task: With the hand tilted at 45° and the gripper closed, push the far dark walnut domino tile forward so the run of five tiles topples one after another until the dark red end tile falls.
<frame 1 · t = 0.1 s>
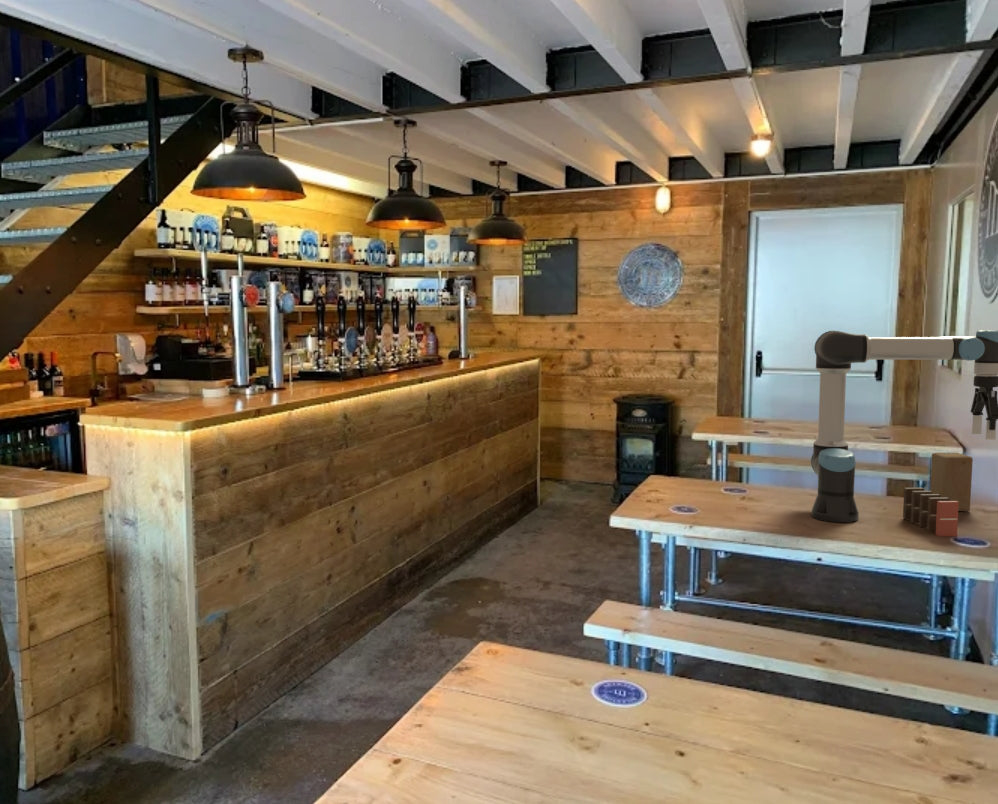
hand: (983, 436, 272), 28 cm above the table, tool pointing down, fingers open, 13 cm apart
tile 3: (928, 527, 261), on the table
wooden block: (949, 509, 285), on the table
end tile: (946, 535, 251), on the table
tile 4: (937, 531, 256), on the table
tile 1: (912, 519, 271), on the table
tile 2: (920, 523, 266), on the table
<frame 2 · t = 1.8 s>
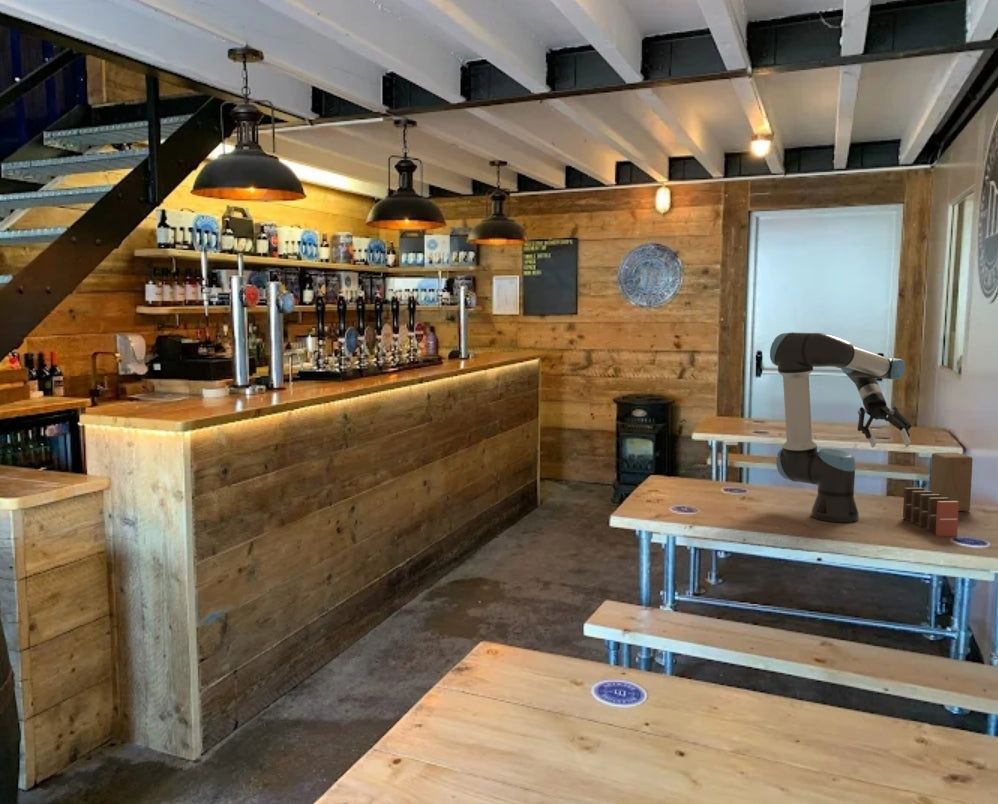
hand: (891, 444, 285), 23 cm above the table, tool tilted 45°, fingers open, 12 cm apart
nothing on the table moved.
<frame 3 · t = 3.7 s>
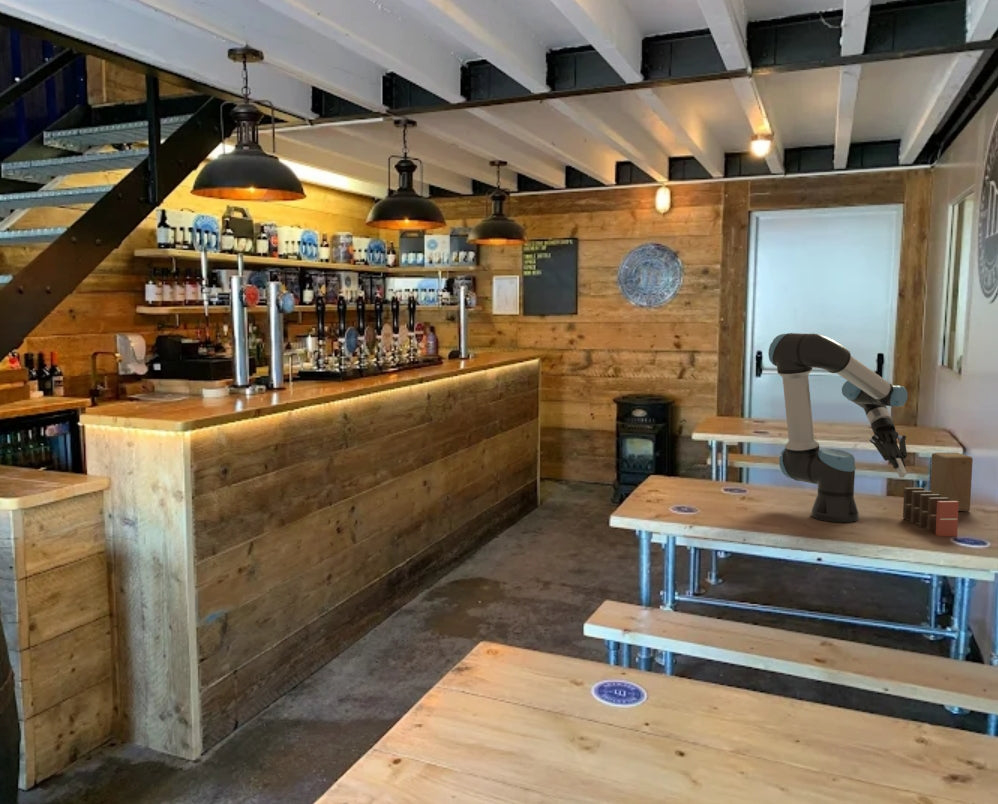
hand: (903, 475, 279), 13 cm above the table, tool tilted 45°, fingers closed
nothing on the table moved.
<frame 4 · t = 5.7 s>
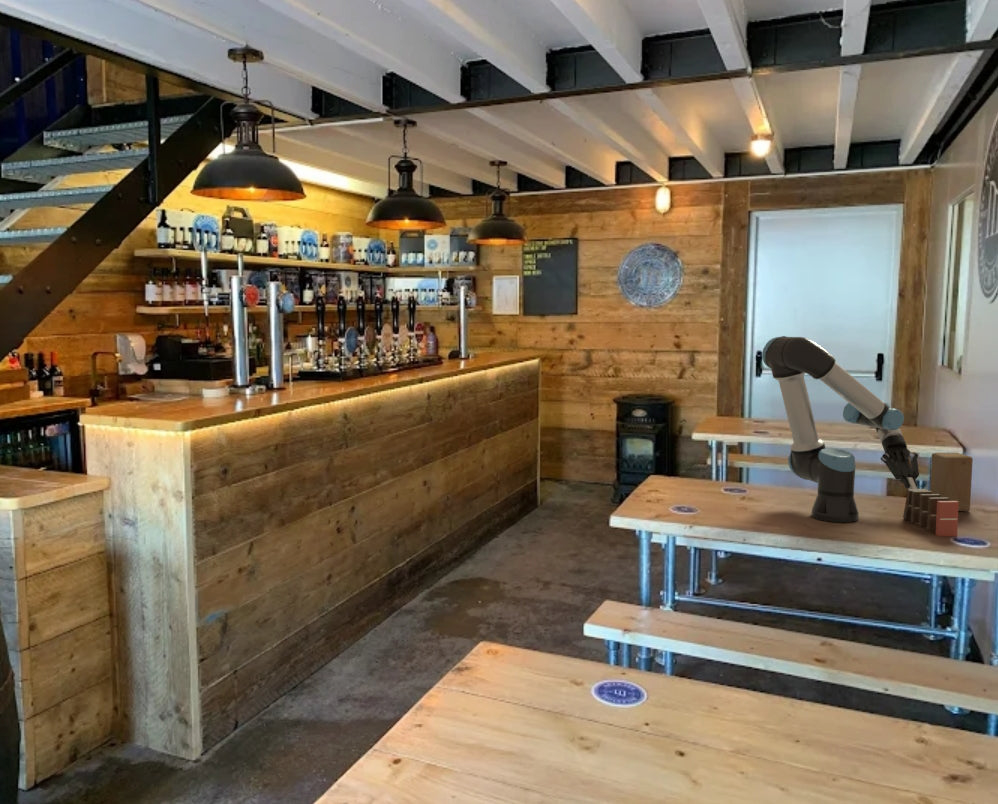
hand: (915, 495, 270), 8 cm above the table, tool tilted 45°, fingers closed
tile 1: (912, 519, 271), on the table, tilted 13°
everything else where it was.
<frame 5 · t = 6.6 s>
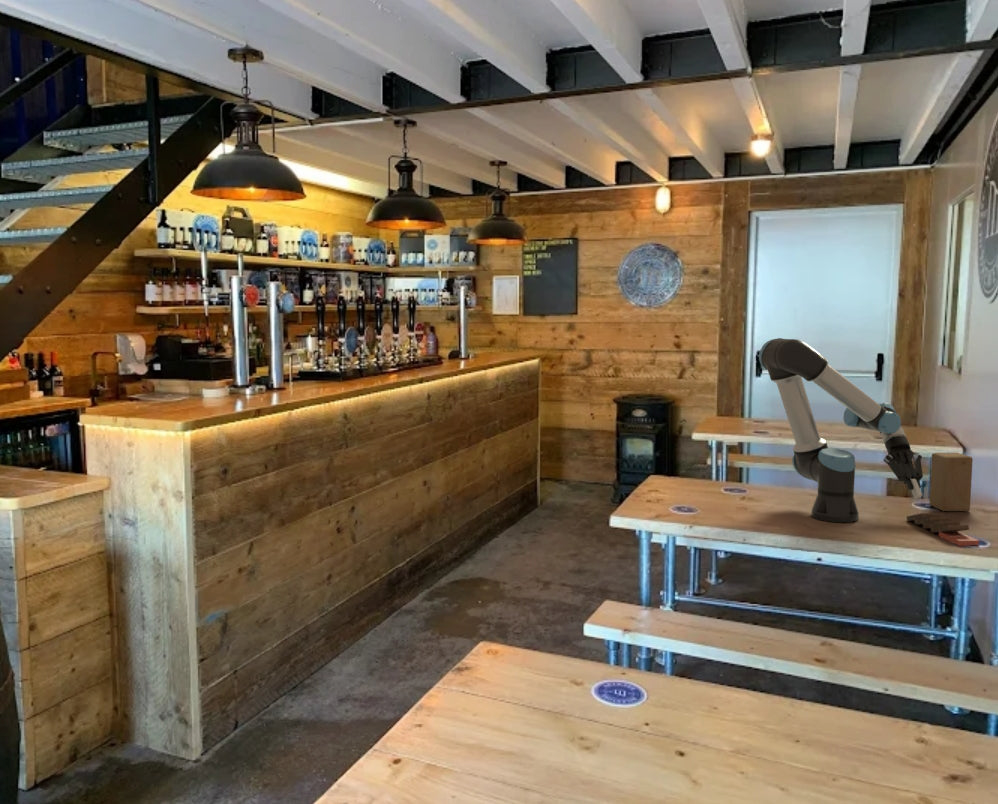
hand: (918, 497, 267), 9 cm above the table, tool tilted 45°, fingers closed
tile 3: (931, 526, 259), point 1 cm above the table, tilted 70°, touching tile 2, tile 4
end tile: (948, 534, 250), point 1 cm above the table, tilted 89°, touching tile 4
tile 4: (939, 530, 254), point 1 cm above the table, tilted 71°, touching end tile, tile 3
tile 1: (915, 518, 269), point 1 cm above the table, tilted 70°, touching tile 2
tile 2: (923, 522, 264), point 1 cm above the table, tilted 70°, touching tile 1, tile 3
everything else where it was.
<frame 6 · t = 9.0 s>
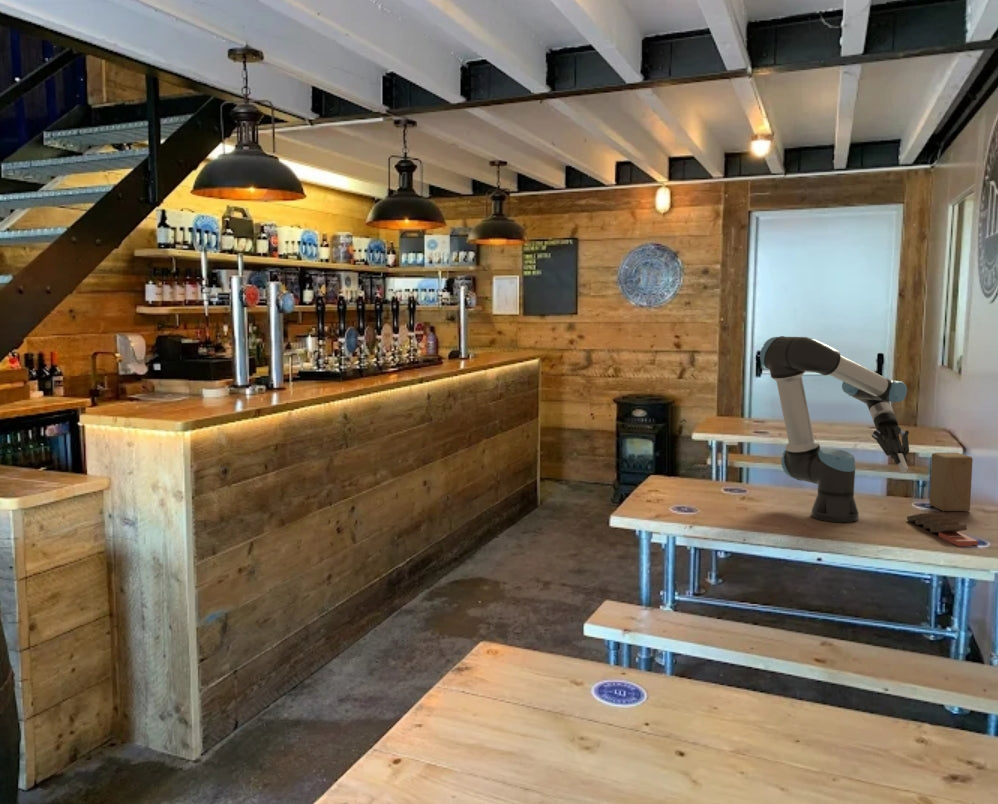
hand: (904, 470, 276), 16 cm above the table, tool tilted 45°, fingers closed
end tile: (948, 534, 249), point 1 cm above the table, tilted 89°
tile 4: (939, 530, 254), point 1 cm above the table, tilted 70°, touching tile 3
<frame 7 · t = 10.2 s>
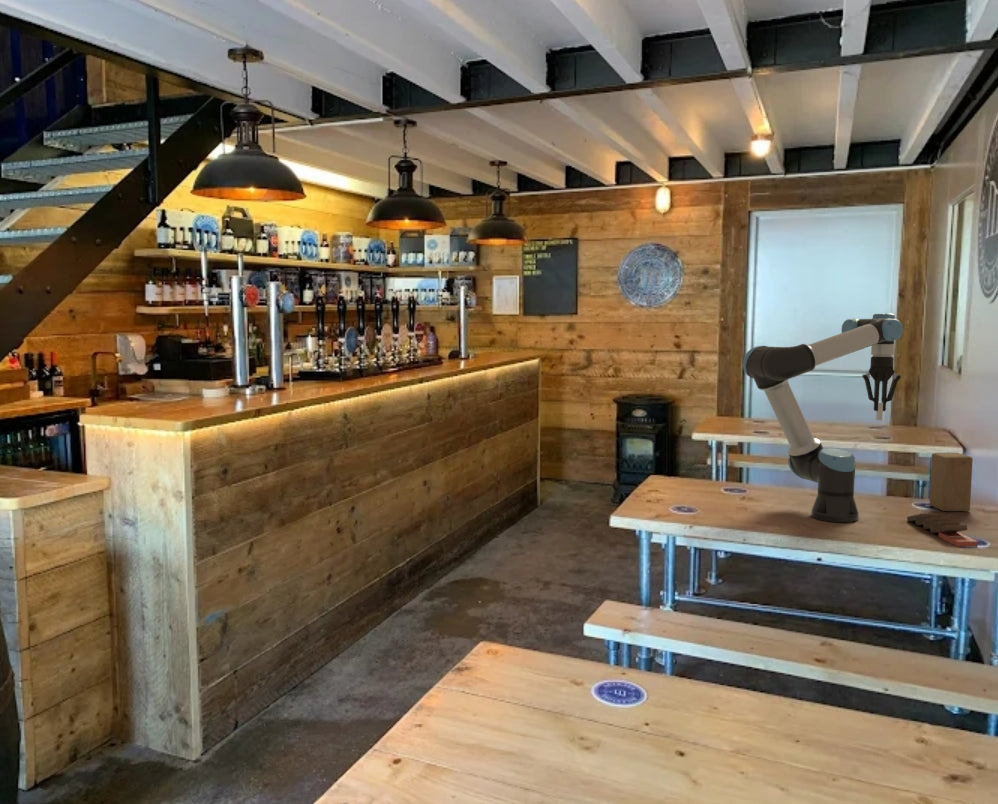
hand: (879, 419, 290), 32 cm above the table, tool pointing down, fingers closed
tile 3: (932, 526, 258), point 1 cm above the table, tilted 70°, touching tile 2, tile 4
end tile: (948, 534, 249), point 1 cm above the table, tilted 90°, touching tile 4
tile 4: (939, 530, 254), point 1 cm above the table, tilted 70°, touching end tile, tile 3
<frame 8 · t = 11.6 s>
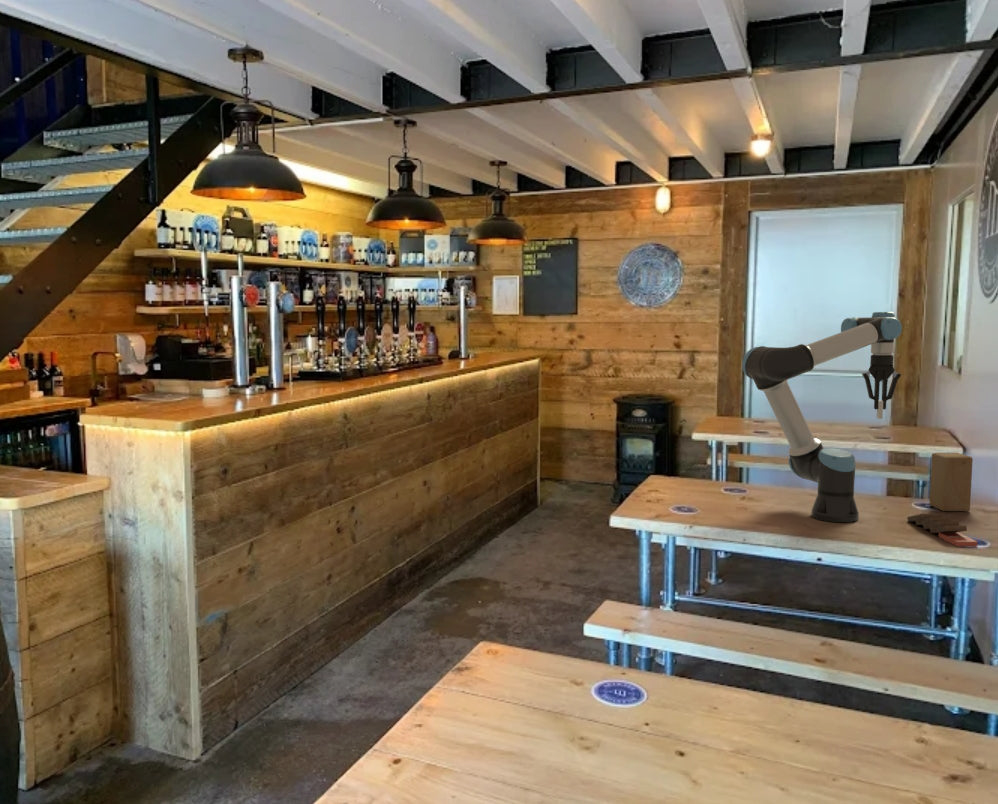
hand: (879, 418, 290), 32 cm above the table, tool pointing down, fingers closed
at the end: end tile tilted 89°; tile 3 tilted 70°; tile 1 tilted 70° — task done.
